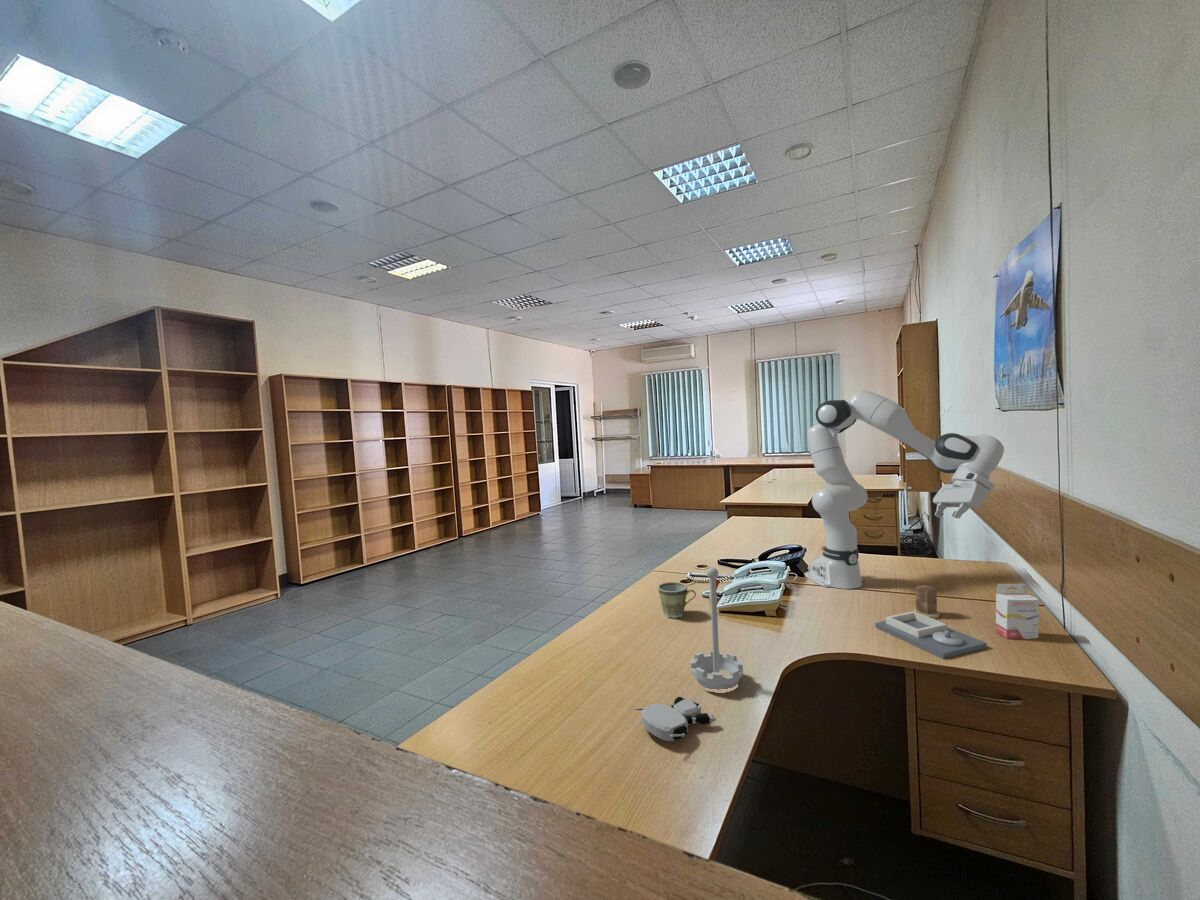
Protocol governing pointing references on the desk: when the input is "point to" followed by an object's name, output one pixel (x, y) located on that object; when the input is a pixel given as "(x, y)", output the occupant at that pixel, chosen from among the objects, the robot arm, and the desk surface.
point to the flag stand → (716, 652)
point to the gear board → (930, 635)
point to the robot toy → (673, 718)
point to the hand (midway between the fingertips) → (946, 516)
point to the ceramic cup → (673, 598)
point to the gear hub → (926, 601)
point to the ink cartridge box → (1016, 612)
